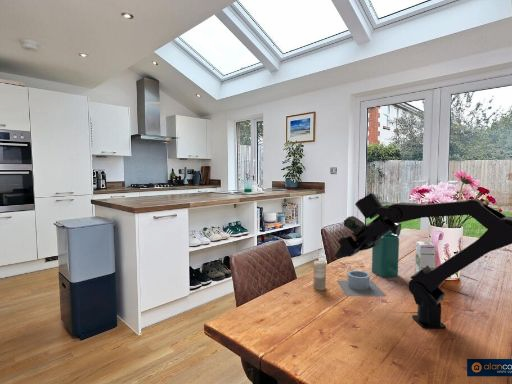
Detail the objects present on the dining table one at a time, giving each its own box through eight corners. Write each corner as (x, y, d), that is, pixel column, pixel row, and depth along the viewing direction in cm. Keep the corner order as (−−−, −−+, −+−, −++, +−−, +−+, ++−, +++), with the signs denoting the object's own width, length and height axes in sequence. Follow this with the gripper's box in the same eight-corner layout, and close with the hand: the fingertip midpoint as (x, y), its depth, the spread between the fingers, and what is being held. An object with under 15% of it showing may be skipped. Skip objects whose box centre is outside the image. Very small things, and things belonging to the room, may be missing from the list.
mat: (386, 297, 102) (386, 296, 102) (346, 296, 103) (346, 295, 102) (372, 281, 116) (372, 280, 116) (336, 281, 116) (336, 280, 116)
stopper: (326, 290, 107) (327, 264, 107) (314, 290, 108) (314, 264, 107) (324, 286, 112) (324, 260, 111) (312, 286, 112) (312, 260, 111)
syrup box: (435, 280, 117) (436, 245, 116) (419, 279, 118) (420, 244, 117) (429, 275, 122) (431, 241, 121) (414, 274, 124) (415, 241, 123)
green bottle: (382, 278, 119) (384, 225, 118) (369, 271, 127) (371, 221, 126) (402, 276, 122) (404, 224, 120) (388, 269, 130) (390, 220, 128)
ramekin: (372, 290, 107) (372, 278, 107) (350, 289, 107) (351, 277, 107) (365, 281, 115) (365, 270, 115) (345, 281, 115) (345, 270, 115)
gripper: (372, 207, 105) (342, 231, 114) (345, 212, 92) (314, 239, 101) (393, 233, 100) (360, 256, 109) (368, 243, 87) (333, 268, 96)
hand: (342, 254), depth 104 cm, fingers open, 9 cm apart
